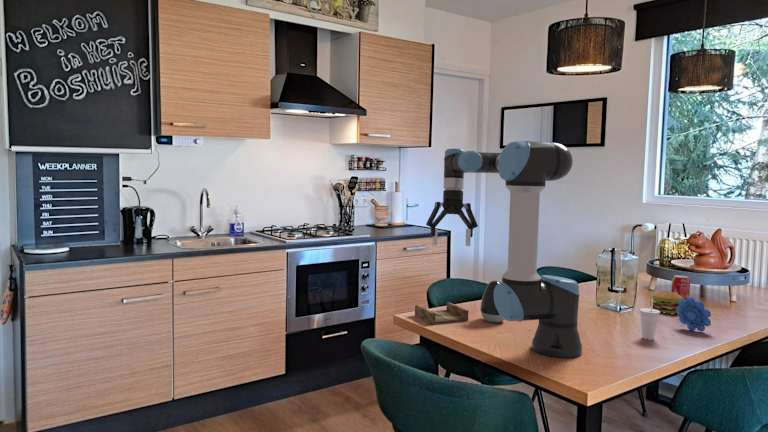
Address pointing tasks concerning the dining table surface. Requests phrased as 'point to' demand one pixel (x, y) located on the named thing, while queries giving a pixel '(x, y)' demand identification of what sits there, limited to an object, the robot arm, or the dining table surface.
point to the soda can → (681, 286)
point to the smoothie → (649, 321)
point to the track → (442, 314)
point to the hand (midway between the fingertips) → (451, 245)
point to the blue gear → (693, 314)
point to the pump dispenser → (490, 304)
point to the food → (666, 301)
